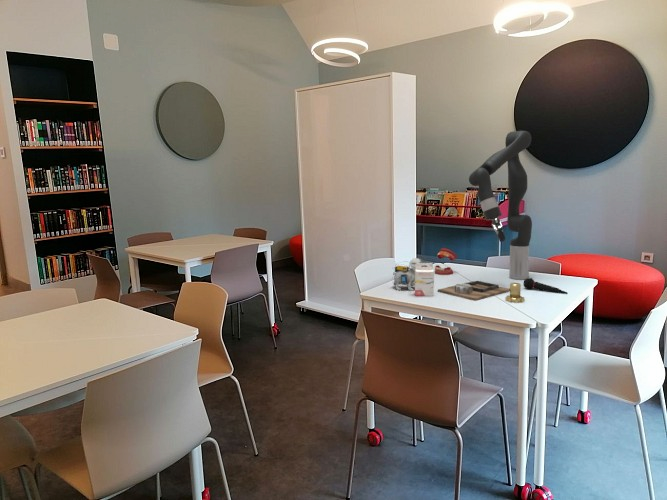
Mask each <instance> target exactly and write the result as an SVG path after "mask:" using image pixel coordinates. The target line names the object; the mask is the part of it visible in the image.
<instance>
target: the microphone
mask: <svg viewBox="0 0 667 500" xmlns="http://www.w3.org/2000/svg"><path fill="white" fill-rule="evenodd" d="M522 284H523V287H524V288H526V289H527V290H531V289H534V290H538V291H542V292H543V291H544V292H548V293H554V294H565V295H568V292H567V291H565V290H562V289H560V288H558V287H555V286H552V285H548V284H545V283H542V282H538V281H535V280H534V279H533V278H532V277H528V278H527V279H523V282H522Z"/></svg>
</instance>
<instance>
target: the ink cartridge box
mask: <svg viewBox="0 0 667 500" xmlns="http://www.w3.org/2000/svg"><path fill="white" fill-rule="evenodd" d="M421 266H427V267H421ZM434 293H435V270H434V263H433V262H431V263H430V262H429V263H428V262H426V263H416V269H415V286H414V295H415V296H416V297H434V296H435V294H434Z"/></svg>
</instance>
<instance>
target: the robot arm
mask: <svg viewBox="0 0 667 500" xmlns="http://www.w3.org/2000/svg"><path fill="white" fill-rule="evenodd" d="M531 143H532V135H531V133H530V132H529V131H527V130H513V131H510V132H508V133H507V135H506V137H505V144H504V145H505V147H504V148H502V149H501V150H499V151H497V152H495V153H493V154H492V155H491V156H489V158H487V159H486V160H485V161H484V162H483V163H482V164H481V165H480V166H479V167H477V168H476V169H475V170H474V171H472V172H471V173H470V175H469V177H468V182H469V184H470V185H471V186H473V187H478V190H477V192H476V194H477V197H478V198H477V199H478V200H479V203H480V207H481V210H482V212H483V216H484V218H485V220H486V221H492V222H491V227H492V228H493V230H494V232H495V234H496V235H497V238H498V240H499V243H502V242H505V240H506V237H505V234H504V230H503V229H504V228H503V225H502V222H501V220H500V217H502V216H503V215H502V211H501V208H500V206H499V203H498V201H497V199H496V197H495V195H494V194H495V193H494V191H493V190H492V182H491V181H492V180H491V176H492V175H493V174H494V173H496V172H497V171H498V170H499V169H500V168H501V167H502V166H503V165H504V164H505V163H507V186H508V204H507V205H508V207H507V220H506V221H507V228H508V230H509V231H511V232H514V233H517V236H516V237H514V238H512V239H511V240H510V241H509V242H510V243H509V271H508V273H509V274H508V277H509V279H512V280H525V279H527V278H530V259H529V258H530V242H531V239H532V228H533V222H532V217H531V216H530V215H528V214H521V213H520V206H521V202H522V200H523V198H524V196H525V195H526V193H527V191H528V175H527V172H526V170H525V168H524V165H522V163H521V160H520V155H519V154H520V153H522V152H523V151H525V150H526V149H527V148H528V147H529V146H530V145H531Z"/></svg>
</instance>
